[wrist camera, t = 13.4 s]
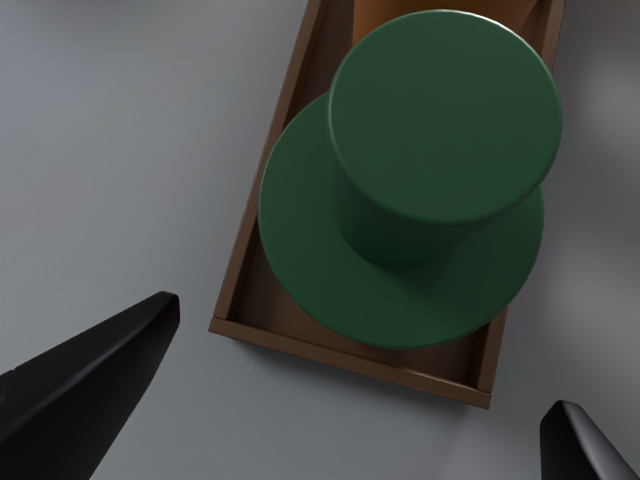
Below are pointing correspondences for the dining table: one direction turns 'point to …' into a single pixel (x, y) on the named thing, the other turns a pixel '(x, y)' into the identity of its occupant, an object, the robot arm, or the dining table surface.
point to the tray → (273, 301)
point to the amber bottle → (389, 3)
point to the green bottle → (414, 182)
